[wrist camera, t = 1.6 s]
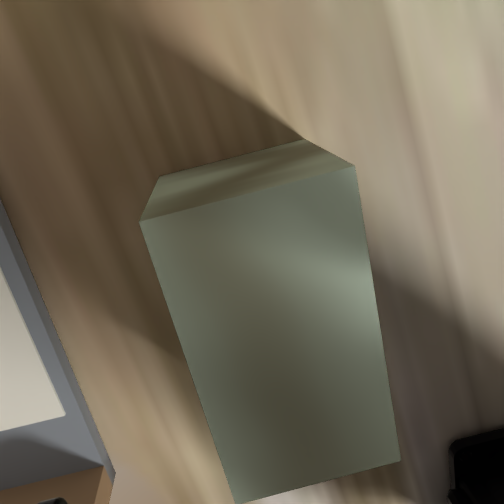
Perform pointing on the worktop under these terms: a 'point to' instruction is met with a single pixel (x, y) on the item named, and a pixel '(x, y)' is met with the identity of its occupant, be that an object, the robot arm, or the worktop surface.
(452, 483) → the robot arm
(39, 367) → the arena
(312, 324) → the sage block
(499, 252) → the worktop surface
